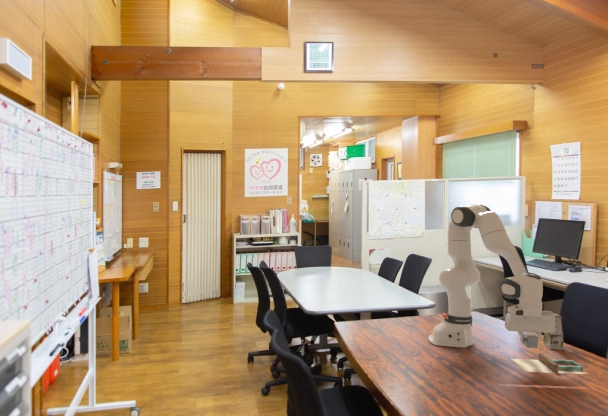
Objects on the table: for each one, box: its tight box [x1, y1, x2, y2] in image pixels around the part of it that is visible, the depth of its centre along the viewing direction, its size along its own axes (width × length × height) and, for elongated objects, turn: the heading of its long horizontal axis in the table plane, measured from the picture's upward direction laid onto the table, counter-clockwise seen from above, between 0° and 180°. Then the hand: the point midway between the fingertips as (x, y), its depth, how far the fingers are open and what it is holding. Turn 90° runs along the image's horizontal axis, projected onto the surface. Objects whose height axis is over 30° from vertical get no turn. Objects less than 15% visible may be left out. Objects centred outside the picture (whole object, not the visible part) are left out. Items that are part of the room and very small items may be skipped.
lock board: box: [510, 352, 589, 375], centre depth 187 cm, size 26×15×4 cm, turn 85°
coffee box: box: [543, 312, 565, 351], centre depth 214 cm, size 9×6×16 cm
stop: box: [520, 332, 539, 349], centre depth 188 cm, size 4×7×4 cm, turn 175°
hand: (529, 341), depth 188 cm, fingers closed on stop, 4 cm apart
